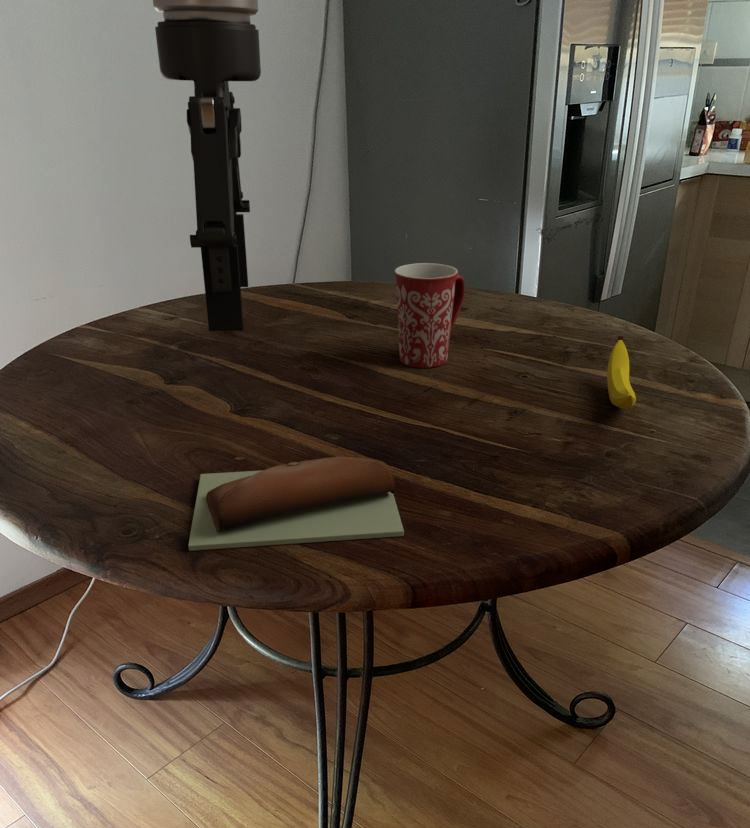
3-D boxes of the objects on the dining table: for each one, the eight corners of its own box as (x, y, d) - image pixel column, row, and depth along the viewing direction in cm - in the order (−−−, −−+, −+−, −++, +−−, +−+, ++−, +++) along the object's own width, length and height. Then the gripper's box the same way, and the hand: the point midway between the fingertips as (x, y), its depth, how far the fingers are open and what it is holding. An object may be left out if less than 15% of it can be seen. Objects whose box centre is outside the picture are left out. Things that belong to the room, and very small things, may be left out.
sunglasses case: (363, 459, 81) (375, 423, 75) (386, 513, 78) (400, 480, 72) (200, 493, 74) (200, 456, 69) (218, 553, 71) (219, 520, 66)
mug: (423, 375, 106) (426, 280, 99) (381, 359, 112) (381, 269, 105) (481, 355, 113) (487, 266, 107) (439, 342, 119) (442, 256, 112)
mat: (188, 551, 67) (187, 545, 67) (201, 478, 79) (200, 473, 79) (404, 536, 69) (404, 530, 69) (384, 467, 81) (384, 463, 81)
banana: (611, 433, 89) (620, 383, 86) (602, 377, 105) (609, 334, 102) (636, 435, 89) (645, 385, 85) (623, 379, 105) (631, 335, 101)
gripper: (173, 26, 64) (199, 272, 75) (125, 5, 43) (170, 354, 54) (260, 28, 65) (273, 271, 76) (254, 9, 44) (273, 351, 55)
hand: (230, 306), depth 65 cm, fingers open, 13 cm apart
